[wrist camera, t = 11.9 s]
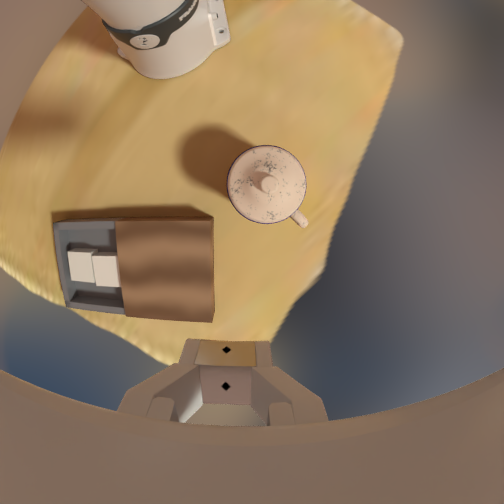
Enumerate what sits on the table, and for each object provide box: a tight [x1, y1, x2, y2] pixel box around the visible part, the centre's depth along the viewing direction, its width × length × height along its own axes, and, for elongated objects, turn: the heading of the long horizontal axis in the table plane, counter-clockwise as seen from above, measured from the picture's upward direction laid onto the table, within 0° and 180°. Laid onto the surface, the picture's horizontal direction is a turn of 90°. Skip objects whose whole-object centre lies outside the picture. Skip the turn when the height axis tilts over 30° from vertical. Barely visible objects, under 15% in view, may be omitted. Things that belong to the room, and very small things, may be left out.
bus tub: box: [53, 218, 126, 315], centre depth 39 cm, size 15×13×4 cm
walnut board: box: [115, 217, 215, 323], centre depth 39 cm, size 15×14×4 cm
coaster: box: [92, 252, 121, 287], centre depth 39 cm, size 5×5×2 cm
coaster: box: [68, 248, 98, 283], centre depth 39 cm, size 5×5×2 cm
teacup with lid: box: [227, 145, 308, 228], centre depth 33 cm, size 12×9×12 cm
